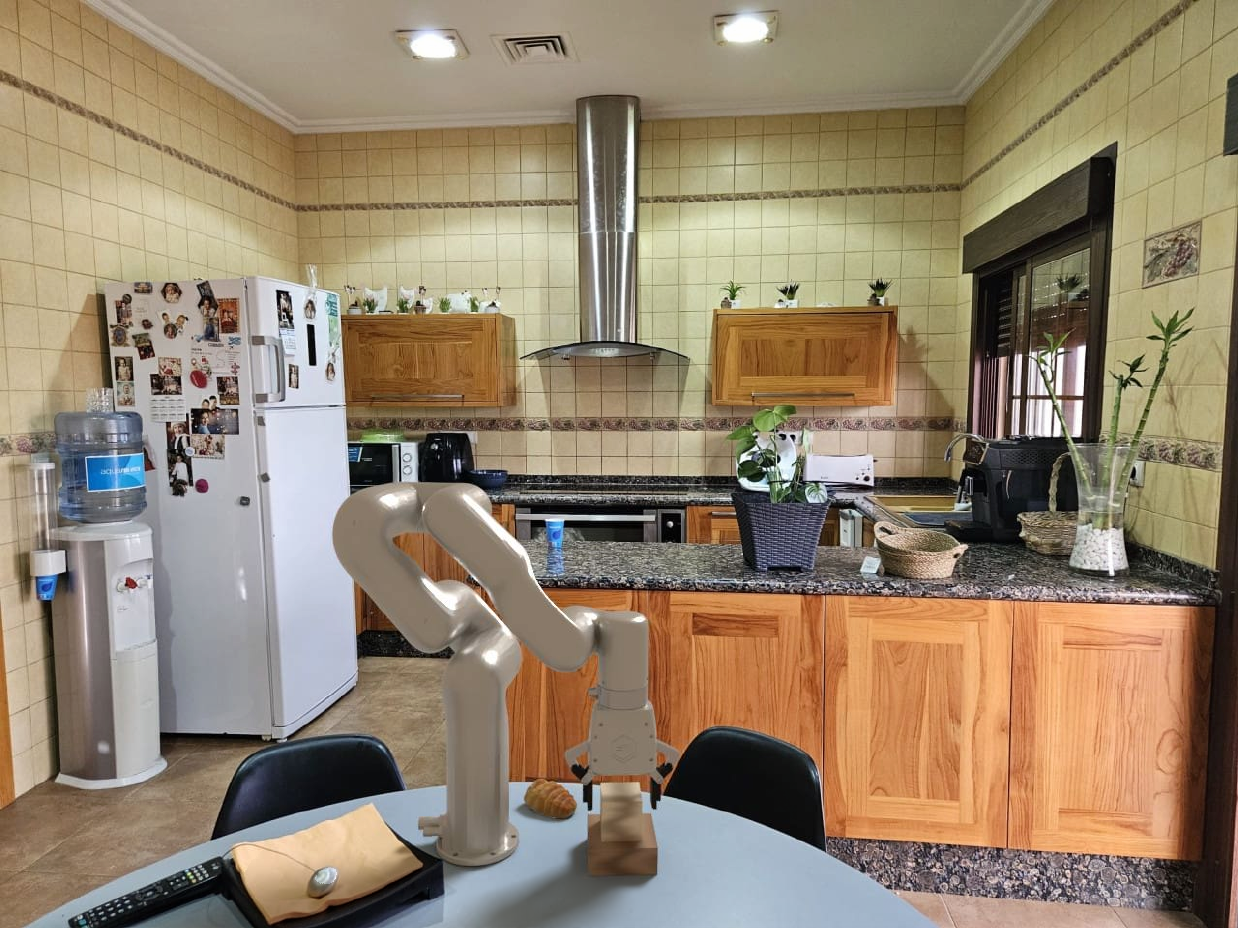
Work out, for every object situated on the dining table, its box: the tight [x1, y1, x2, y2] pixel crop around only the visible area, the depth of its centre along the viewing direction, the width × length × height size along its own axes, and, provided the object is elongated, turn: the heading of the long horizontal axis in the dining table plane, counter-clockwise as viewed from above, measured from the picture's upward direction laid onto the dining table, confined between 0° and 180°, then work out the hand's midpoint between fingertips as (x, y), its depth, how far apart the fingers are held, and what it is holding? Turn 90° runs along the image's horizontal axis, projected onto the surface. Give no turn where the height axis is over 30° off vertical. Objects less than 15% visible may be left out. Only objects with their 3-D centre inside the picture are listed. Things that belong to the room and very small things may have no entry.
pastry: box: [523, 778, 578, 819], centre depth 135 cm, size 9×7×4 cm
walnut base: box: [587, 812, 659, 877], centre depth 120 cm, size 10×10×4 cm
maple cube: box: [599, 781, 644, 841], centre depth 120 cm, size 6×6×6 cm
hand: (621, 805), depth 120 cm, fingers open, 9 cm apart
